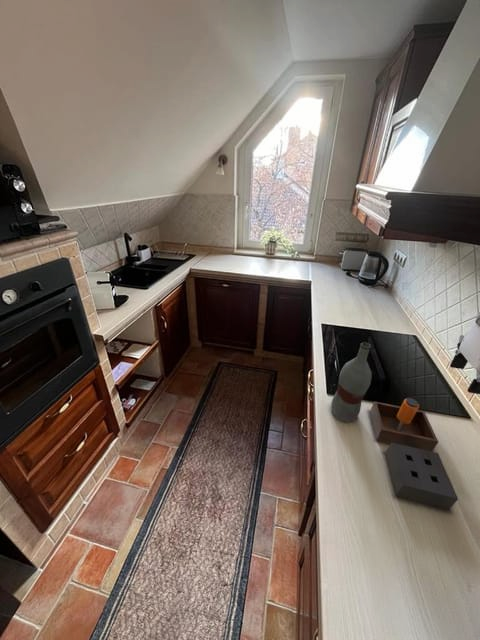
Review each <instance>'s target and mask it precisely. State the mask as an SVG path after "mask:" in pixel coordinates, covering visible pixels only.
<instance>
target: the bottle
mask: <svg viewBox="0 0 480 640" xmlns="http://www.w3.org/2000/svg"><path fill="white" fill-rule="evenodd" d="M371 348H372V345H371V344H370V343H369V342H365V341H364V342H361V343H360V347H359V350H358V352H357V355H356V357H354V358H352V359H351V360H349V361H346V363H344V365H343V366H342V368H341V369H340V372H339V376H338V383H337V389H336V391H335V393H334V395H333V397H332V400H331V406H330V409H331V413H332V415H333V416H334V417H335V418H336V419H337V420H339V421H341V422H343V423H344V422H346V423H352V422H354V421H355V420H356V419H357V417H358V416H359V414H360V412H361V408H362V402H363V399H364V398H365V395H366V393H367V391H368V390H369V388H370V386H371V382H372V376H373V375H372V370H371V368H370V365H369V363H368V361H367V359H368V355H369V352H370V350H371Z"/></svg>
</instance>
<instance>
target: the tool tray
mask: <svg viewBox="0 0 480 640" xmlns="http://www.w3.org/2000/svg"><path fill="white" fill-rule="evenodd" d="M400 408H401V405H400V406H399V405H394V404H389V403H384V402H378V401H373V403H372V405H371V408H370V411H369V415H370V418H371V423H372V427H373V433H374V437H375V440H376V441H377V442H381V443H386V444H390V443H396V444H400V445H405V446H409V447H414V448H418V449H422V450H427V451H431V452H434V450H435V448H436V446H438V444H439V440H438V438H437V435H436V433H435V431H434V430H433V427H432V425H431V423H430V420H429V418H428V416H427V414H426V412H425V410H420V409H418V410H417V412H416V414H415V415H414V417H413V419H412V421H411V423H409V424H405V423H403V424H402V426H401V428H400V430H399V431H397V427H398V425H399V424H400V422H401V421H399V420H398V418H397V414H398V412H399V410H400Z"/></svg>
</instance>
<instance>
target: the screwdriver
mask: <svg viewBox="0 0 480 640" xmlns="http://www.w3.org/2000/svg"><path fill="white" fill-rule="evenodd" d="M400 407H401V408H400V410H399V412H398V414H397V418H398V420H399V421H401V422H400V424H399V425H398V427H397V431H399V430H400V428H401V426H402V424H403V423H405V424H409V423H411V421H412V419H413V417H414V415H415V414H416V412H417V410H419V408H420V404H419V402H418V401H417V400H416V399H414V398H412V397H407V398H404V400H403V402H402V403H401V405H400Z"/></svg>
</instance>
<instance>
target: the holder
mask: <svg viewBox="0 0 480 640" xmlns="http://www.w3.org/2000/svg"><path fill="white" fill-rule="evenodd" d="M384 453H385V458H386V463H387V467H388V471H389V475H390V479H391V483H392V486H393V487H392V488H393V490H394V495H395V497H396V498H400V499H404V500H407V501H411V502H415V503H418V504H422V505H427V506H430V507H435V508H438V509H442V510H445V511H446V510H447V511H450V510H451V508H453V506H454V505H455V503H456V502H457V501H458V500H459V497H458V495H457V493H456V490H455V489H454V486H453V484H452V482H451V480H450V477H449V475H448V472H447V470H446V468H445V466H444V463H443V461H442V458H441V456H440V454H439V452H435V451H432V452H431V451H427V450H422V449H418V448H414V447H409V446H405V445H400V444H396V443H389V446H388V447H387V449H386V451H385V452H384Z"/></svg>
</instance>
